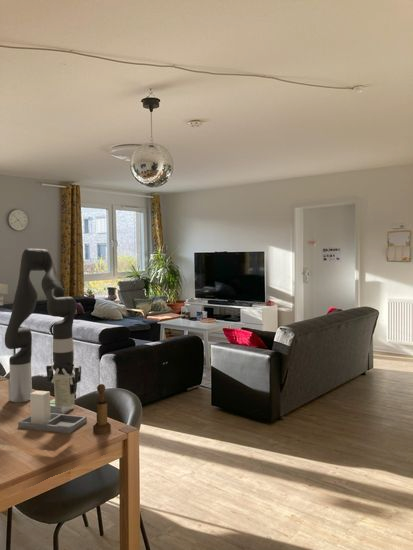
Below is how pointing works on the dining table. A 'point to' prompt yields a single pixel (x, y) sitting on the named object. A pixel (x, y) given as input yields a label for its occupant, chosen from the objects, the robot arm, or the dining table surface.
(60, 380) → the skincare box
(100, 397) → the brown chess piece
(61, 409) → the button housing
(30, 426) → the two-section gray tray
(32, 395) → the block
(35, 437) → the dining table surface
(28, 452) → the dining table surface
